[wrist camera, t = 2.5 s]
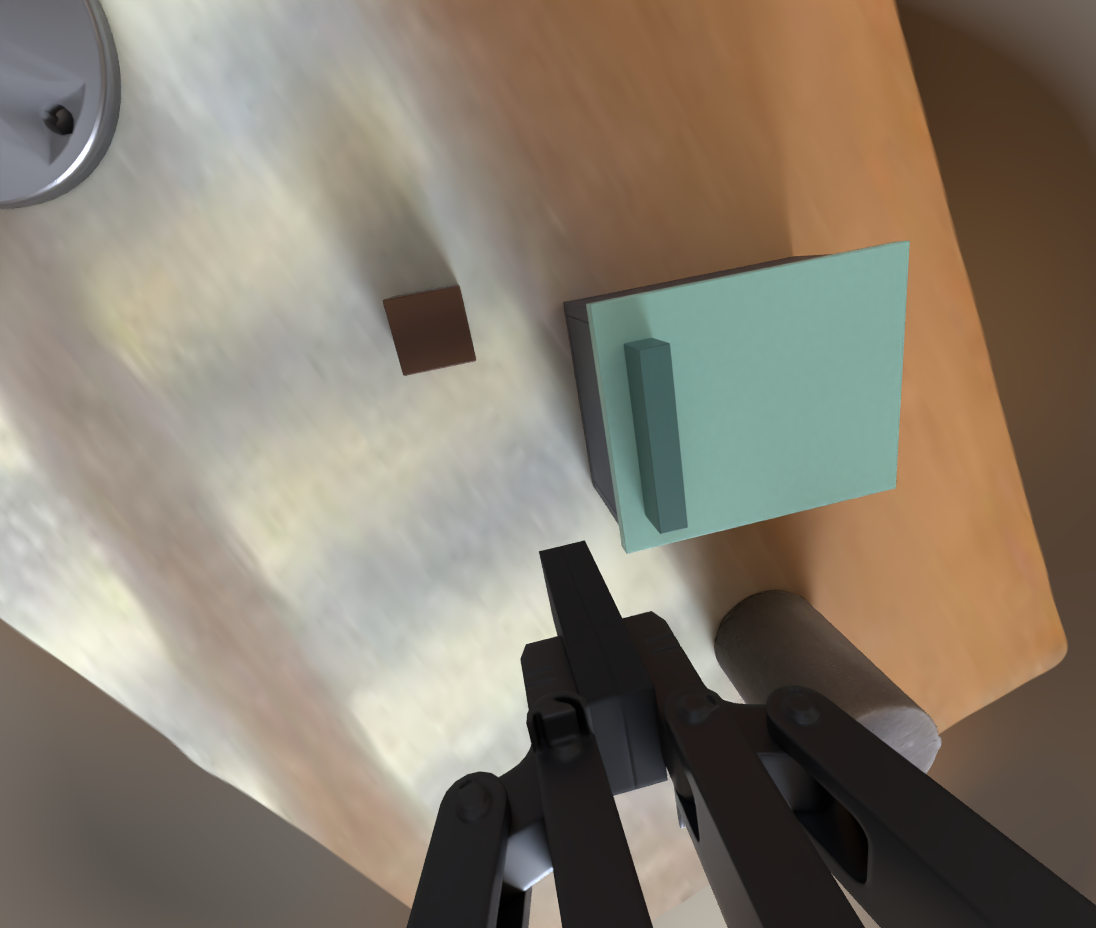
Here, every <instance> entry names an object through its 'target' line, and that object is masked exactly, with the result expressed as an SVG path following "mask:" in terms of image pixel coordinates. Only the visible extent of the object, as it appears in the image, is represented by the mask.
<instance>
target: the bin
mask: <svg viewBox="0 0 1096 928" xmlns="http://www.w3.org/2000/svg"><path fill="white" fill-rule="evenodd" d="M829 255H832V254H829ZM822 256H827V255H812V256H795V257H789V258H784V259H779V260H774V261H769V262H764V263H759V264H754V265H749V266H744V267H739V268H734V269H729V270H724V271H719V272H714V273H709V274H704V275H699V276H694V277H689V278H684V279H679V280H674V281H669V282H664V283H659V284H654V285H649V286H644V287H639V288H634V289H629V290H624V291H618V292H613V293H608V294H603V295H598V296H593V297H588V298H583V299H578V300H573V301H568V302H564V303H563V304H564V310H565V316H566V323H567V329H568V335H569V341H570V347H571V353H572V360H573V366H574V372H575V378H576V384H577V390H578V396H579V403H580V409H581V415H582V421H583V427H584V433H585V440H586V446H587V452H588V458H589V464H590V470H591V477H592V483H593V486H594V488H595V489H596V491H597V492H598V494H599V495H600V497H601V498H602V500H603V501H604V503H605V505H606V506H607V508H608V509H609V511H610V512H611V514H612V515H613V517H614V518H615V520H616V521H617V523H618V516H617V509H616V503H615V496H614V489H613V482H612V476H611V469H610V462H609V455H608V449H607V442H606V435H605V428H604V422H603V415H602V408H601V401H600V395H599V388H598V381H597V374H596V368H595V361H594V354H593V347H592V341H591V334H590V327H589V320H588V313H587V307H586V304H588V303H593V302H598V301H603V300H608V299H613V298H618V297H623V296H628V295H633V294H638V293H643V292H648V291H653V290H658V289H663V288H668V287H673V286H678V285H683V284H688V283H693V282H698V281H703V280H708V279H713V278H718V277H723V276H728V275H733V274H738V273H743V272H748V271H753V270H758V269H763V268H768V267H773V266H777V265H782V264H787V263H792V262H797V261H802V260H807V259H812V258H817V257H822ZM618 525H619V523H618Z"/></svg>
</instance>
